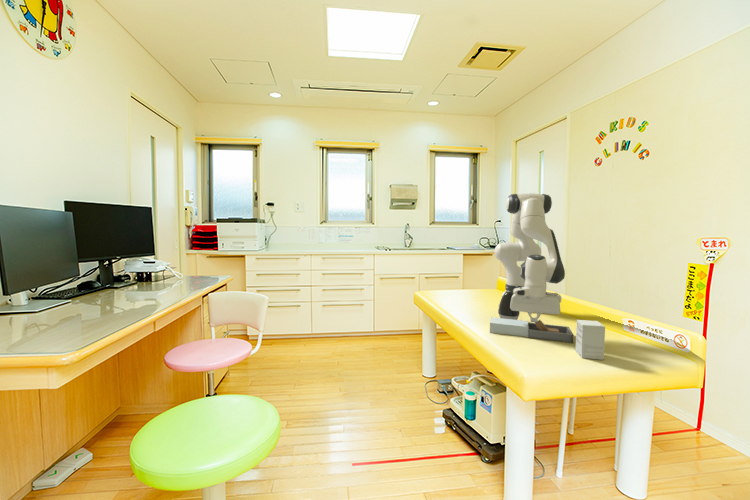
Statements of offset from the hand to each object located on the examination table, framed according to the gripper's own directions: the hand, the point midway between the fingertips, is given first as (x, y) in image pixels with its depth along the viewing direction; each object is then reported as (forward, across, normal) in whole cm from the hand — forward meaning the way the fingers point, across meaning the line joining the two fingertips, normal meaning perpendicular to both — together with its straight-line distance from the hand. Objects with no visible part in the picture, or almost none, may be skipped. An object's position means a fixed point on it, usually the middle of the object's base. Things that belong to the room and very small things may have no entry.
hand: (533, 322), depth 147 cm
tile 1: (+2, -2, 0) cm, 3 cm away
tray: (+6, -6, 0) cm, 8 cm away
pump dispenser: (+6, +10, -19) cm, 23 cm away
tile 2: (+2, -8, 0) cm, 8 cm away
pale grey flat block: (+6, +10, 0) cm, 12 cm away
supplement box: (+6, -18, +19) cm, 26 cm away
